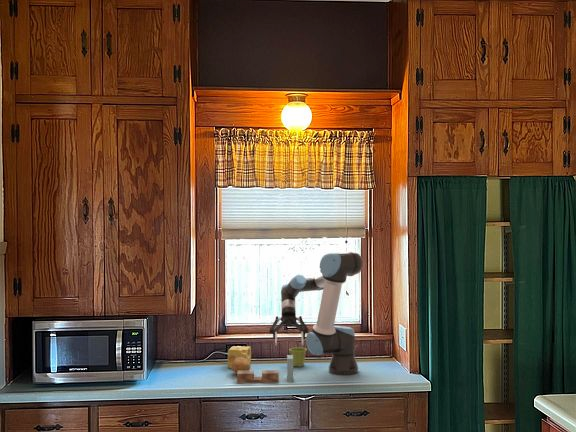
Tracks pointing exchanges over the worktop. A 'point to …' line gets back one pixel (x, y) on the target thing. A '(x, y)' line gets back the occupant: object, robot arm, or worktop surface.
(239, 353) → the cheese
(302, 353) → the plant pot
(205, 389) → the worktop surface
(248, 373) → the brown wooden u-shaped block
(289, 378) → the grey upright block
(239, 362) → the potato
